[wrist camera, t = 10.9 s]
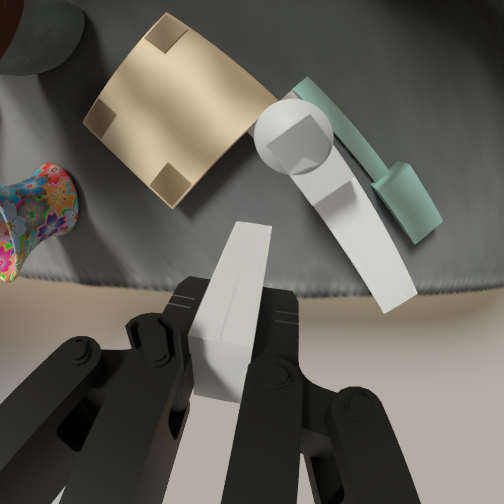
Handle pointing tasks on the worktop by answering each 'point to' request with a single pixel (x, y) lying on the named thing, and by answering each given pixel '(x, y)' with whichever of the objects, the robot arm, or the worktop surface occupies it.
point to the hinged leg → (333, 194)
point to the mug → (34, 215)
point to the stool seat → (219, 121)
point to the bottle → (37, 34)
